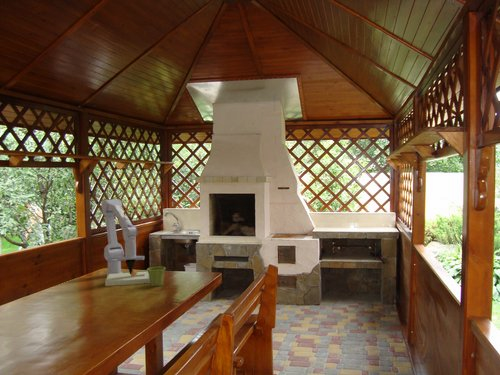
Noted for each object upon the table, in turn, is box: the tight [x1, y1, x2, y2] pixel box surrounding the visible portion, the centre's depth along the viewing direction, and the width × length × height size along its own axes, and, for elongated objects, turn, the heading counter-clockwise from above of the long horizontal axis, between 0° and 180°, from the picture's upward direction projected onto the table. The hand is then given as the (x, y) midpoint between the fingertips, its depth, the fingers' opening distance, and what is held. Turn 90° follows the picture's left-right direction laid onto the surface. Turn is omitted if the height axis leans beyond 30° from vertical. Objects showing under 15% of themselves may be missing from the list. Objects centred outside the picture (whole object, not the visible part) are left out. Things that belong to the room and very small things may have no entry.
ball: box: [131, 269, 137, 276], centre depth 226 cm, size 3×3×3 cm
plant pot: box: [146, 266, 166, 287], centre depth 216 cm, size 9×9×9 cm
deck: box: [104, 271, 150, 287], centre depth 226 cm, size 18×24×4 cm
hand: (131, 273), depth 226 cm, fingers closed, pressing on ball
